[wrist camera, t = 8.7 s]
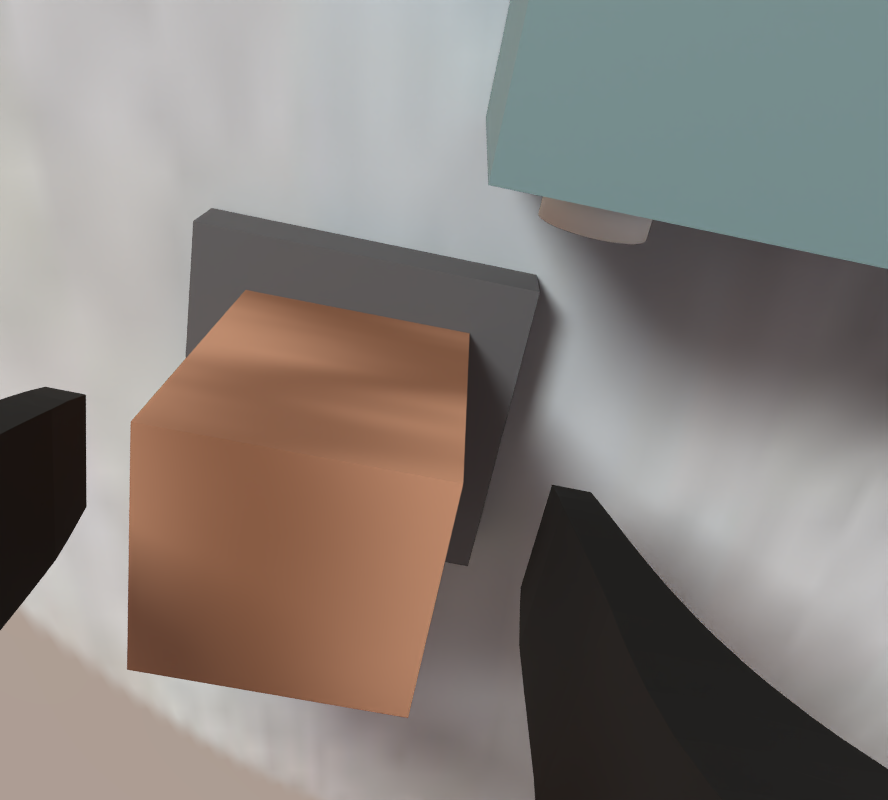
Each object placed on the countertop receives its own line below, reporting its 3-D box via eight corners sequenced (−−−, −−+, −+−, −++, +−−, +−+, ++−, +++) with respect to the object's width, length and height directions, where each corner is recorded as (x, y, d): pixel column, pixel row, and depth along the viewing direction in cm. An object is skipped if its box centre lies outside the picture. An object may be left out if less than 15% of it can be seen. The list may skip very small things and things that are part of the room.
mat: (536, 275, 14) (539, 291, 14) (468, 537, 17) (467, 566, 16) (211, 208, 14) (193, 221, 13) (193, 484, 17) (177, 511, 16)
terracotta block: (469, 333, 14) (463, 483, 9) (429, 517, 16) (408, 718, 11) (245, 290, 14) (130, 422, 9) (229, 480, 16) (127, 669, 11)
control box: (943, -99, 12) (1338, -198, 6) (812, 224, 14) (1023, 355, 8) (550, -191, 11) (611, -376, 6) (478, 153, 14) (475, 242, 8)
